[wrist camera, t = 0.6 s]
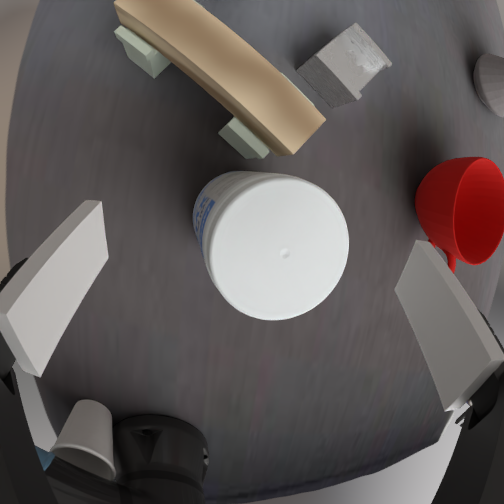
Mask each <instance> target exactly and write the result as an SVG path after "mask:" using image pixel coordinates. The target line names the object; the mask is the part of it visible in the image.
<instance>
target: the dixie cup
mask: <svg viewBox="0 0 504 504" xmlns="http://www.w3.org/2000/svg"><path fill="white" fill-rule="evenodd" d="M50 452H52V453H54V454H55V456H57V457H59V458H61V459H63V460H65V461H67V462H69V463H71V464H73V465H75V466H77V467H80V468H82V469H84V470H86V471H89V472H91V473H93V474H96V475H98V476H100V477H103V478H105V479H108V480H111V481H113V480H114V478H115V476H116V470H115V467H114V460H113V438H112V415H111V413H110V411H109V410H108V409H107V408H106V407H105V406H104V405H103V404H101V403H99V402H97V401H94V400H80V401H78V402H77V403H76V404H75V406H74V408H73V409H72V411H71V413H70V415H69V417H68V419H67V421H66V423H65V425H64V427H63V429H62V431H61V433H60V435H59V437H58V439H57V441H56V443H55V445H54V446H53V447H52V448H51V449H50Z"/></svg>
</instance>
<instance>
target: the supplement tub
mask: <svg viewBox="0 0 504 504" xmlns="http://www.w3.org/2000/svg"><path fill="white" fill-rule="evenodd" d="M193 226H194V231H195V234H196V237H197V240H198V243H199V246H200V249H201V252H202V255H203V258H204V261H205V264H206V267H207V270H208V273H209V275H210V277H211V279H212V281H213V283H214V284H215V286H216V287H217V289H218V290H219V291H220V293H221V294H222V296H223V297H224V298H225V299H226V300H227V301H228V302H229V303H230V304H231V305H232V306H233V307H235V308H236V309H237V310H239V311H241V312H242V313H244V314H246V315H249V316H252V317H255V318H258V319H264V320H282V319H288V318H292V317H295V316H298V315H301V314H303V313H305V312H307V311H309V310H311V309H312V308H314V307H315V306H317V305H318V304H319V303H320V302H322V301H323V300H324V299H325V298H326V297H327V296H328V295H329V294H330V292H331V291H332V290H333V289H334V287H335V286H336V284H337V283H338V281H339V279H340V277H341V275H342V273H343V271H344V268H345V265H346V261H347V256H348V250H349V236H348V230H347V225H346V221H345V219H344V216H343V214H342V212H341V210H340V208H339V207H338V205H337V204H336V202H335V201H334V200H333V198H332V197H331V196H330V195H329V194H327V193H326V192H325V191H324V190H323V189H321V188H320V187H318V186H317V185H315V184H313V183H310V182H308V181H305V180H303V179H301V178H298V177H295V176H291V175H286V174H278V173H267V172H253V171H232V172H227V173H225V174H222V175H220V176H218V177H216V178H214V179H213V180H211V181H210V182H209V183H208V184H207V185H206V186H205V187H204V188H203V189H202V191H201V192H200V194H199V196H198V197H197V200H196V202H195V206H194V210H193Z"/></svg>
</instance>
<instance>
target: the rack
mask: <svg viewBox="0 0 504 504" xmlns="http://www.w3.org/2000/svg"><path fill="white" fill-rule="evenodd" d="M193 1H194V2H196V1H195V0H193ZM196 3H197V4H199V3H198V2H196ZM199 5H200V4H199ZM200 6H201V7H203V6H202V5H200ZM203 8H204V7H203ZM114 33H115V35H116V37H117V39H119V40H120V41H121V42H122V44H123V46H124V49H125V51H126V53H127V56H128V58H129V59H130V60H132V61H133V62H134V63H135V64H137V65H138V66H139V67H140V68H142V69H143V70H144V71H145V72H147V73H148V74H149V75H150V76H152V77H153V78H154V79H155V78H156V77H157V76H158V75H159V74H160V73H161V72H162V71H163V70H164V69H165V68H166V67H167V66H168V65H169V64H170V63H171V61H170V60H168V59H167V58H166V57H165V56H163V55H162V54H161V53H160V52H158V51H157V50H156V49H154V48H153V47H152V46H151V45H149V44H148V43H147V42H145V41H144V40H143V39H141V38H140V37H139V36H137V35H136V34H135V33H133V32H132V31H131V30H129V29H128V28H127V29H126V28H124V27H123V26H122V25H121V26H120V27H118V28H117V29H116V30H115V31H114ZM281 74H282V73H281ZM282 75H283V76H284V77H285V78H286V79H287V80H288V81H289V82H290V83H291V84H292V85H293V86H294V87H295V88H296V89H297V90H298V91H299V92H300V93H301V94H302V95H303V96H304V97H305V98H306V99H307V100H308V101H309V102H310V103H311V104H312V105H313V103H312V102H311V101H310V100H309V99H308V98H307V97H306V96H305V95H304V94H303V93H302V92H301V91H300V90H299V89H298V88H297V87H296V86H295V85H294V84H293V83H292V82H291V81H290V80H289V79H288V78H287V77H286V76H285V75H284V74H282ZM313 106H314V105H313ZM218 134H219V135H220V136H221V137H222V138H224V139H225V140H226V141H227V142H228V143H229V144H230V145H231V146H232V147H233V148H234V149H236V150H237V151H238V152H239V153H240V154H241V155H242V156H243V157H244V158H245V159H250V158H256V157H257V158H258V159H263V158H264V157H265V156H266V155H267V154H268V153H269V152H270V151H269V150H268V149H269V148H268V147H267V146H266V145H265V144H264V143H263V142H262V141H261V140H259V139H258V138H257V137H256V136H255V135H254V134H253V133H252V132H251V131H250V130H249V129H248V128H247V127H246V126H245V125H244V124H242V123H241V122H240V121H239V120H238V119H237V118H236V117H235V116H234V117H233V118H232V119H231V120H230V121H229V122H228V123H227V124H226V125H225V126H224V127H223V128H222V129H221V130H220V131H219V132H218Z"/></svg>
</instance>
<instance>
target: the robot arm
mask: <svg viewBox="0 0 504 504" xmlns="http://www.w3.org/2000/svg"><path fill="white" fill-rule="evenodd" d="M108 258H109V256H108V250H107V243H106V235H105V227H104V219H103V209H102V201H94V200H85V201H84V202H83V203H82V204H81V205H80V206H79V207H78V208H77V209H76V210H75V211H74V212H73V213H72V214H71V215H70V216H69V217H68V218H67V219H66V220H65V221H64V222H63V223H62V224H61V225H60V226H59V227H58V228H57V229H56V230H55V231H54V232H53V233H52V234H51V235H50V236H49V237H48V238H47V239H46V240H45V241H44V242H43V243H42V244H41V246H40V247H39V248H38V249H37V250H36V251H35V252H34V253H33V254H32V255H31V257H30V258H25V259H24V260H22V261H21V262H19V263H18V264H16V265H15V266H14V267H13V268H12V269H11V270H10V272H9V273H8V274H7V277H5V278H4V279H3V280H2V281H1V284H0V504H205V499H204V494H203V483H204V479H205V475H206V471H207V467H208V463H209V451H208V446H207V442H206V439H205V438H204V436H203V435H202V434H201V432H199V431H198V430H197V429H196V428H195V427H193V426H191V425H190V424H188V423H186V422H184V421H181V420H178V419H175V418H171V417H166V416H159V415H142V416H135V417H131V418H128V419H125V420H123V421H121V422H119V423H118V424H116V425H115V426H114V427H113V428H112V438H113V460H114V467H115V470H116V476H115V480H116V482H113V481H111V480H108V479H105V478H103V477H100V476H98V475H96V474H93V473H91V472H89V471H86V470H84V469H82V468H80V467H77V466H75V465H73V464H71V463H69V462H67V461H65V460H63V459H61V458H59V457H57V456H55V454H54V453H52V452H47V451H45V450H43V449H41V448H39V447H37V446H35V445H34V442H33V439H32V437H31V433H30V430H29V427H28V423H27V420H26V416H25V413H24V409H23V406H22V401H21V397H20V393H19V389H18V385H17V380H16V375H15V372H14V370H13V368H12V366H13V364H14V362H15V360H16V361H17V362H18V364H19V366H20V367H21V369H22V370H23V371H24V372H27V373H29V374H32V375H35V376H38V377H41V375H42V373H43V371H44V369H45V367H46V365H47V363H48V361H49V359H50V357H51V355H52V353H53V351H54V350H55V348H56V346H57V344H58V342H59V340H60V338H61V336H62V335H63V333H64V331H65V329H66V327H67V326H68V324H69V322H70V320H71V318H72V317H73V315H74V313H75V311H76V310H77V308H78V306H79V305H80V303H81V301H82V300H83V298H84V296H85V295H86V293H87V291H88V290H89V288H90V286H91V285H92V283H93V281H94V280H95V278H96V277H97V275H98V273H99V272H100V270H101V269H102V267H103V266H104V264H105V263H106V261H107V260H108ZM395 292H396V294H397V296H398V298H399V300H400V303H401V305H402V307H403V309H404V311H405V313H406V316H407V318H408V320H409V322H410V324H411V327H412V329H413V331H414V334H415V336H416V338H417V340H418V343H419V345H420V348H421V350H422V352H423V355H424V357H425V360H426V362H427V365H428V367H429V370H430V372H431V375H432V378H433V380H434V383H435V385H436V388H437V391H438V394H439V396H440V399H441V402H442V405H443V408H444V411H449V410H454V409H459V408H461V407H462V406H463V405H464V404H465V403H466V402H467V401H468V400H469V399H470V400H471V402H472V405H471V406H470V407H469V408H468V409H467V410H466V411H465V412H464V413H463V414H462V415H461V416H460V417H459V418H458V419H457V420H456V422H455V423H456V424H458V423H459V422H460V421H461V420H462V419H464V422H463V423H462V424H461V425H460V426H461V427H462V429H461V432H460V435H459V438H458V441H457V444H456V446H455V449H454V452H453V455H452V457H451V460H450V462H449V465H448V467H447V470H446V472H445V475H444V477H443V479H442V482H441V484H440V486H439V489H438V491H437V493H436V495H435V497H434V499H433V501H432V503H431V504H504V348H503V347H502V345H501V343H500V341H499V340H498V338H497V336H496V335H494V331H493V329H492V328H491V327H490V324H489V323H488V321H487V319H486V318H485V316H484V315H483V314H482V313H481V312H480V311H479V310H478V309H477V308H476V306H475V305H474V303H473V302H472V300H471V299H470V297H469V296H468V294H467V293H466V291H465V290H464V288H463V287H462V285H461V284H460V282H459V281H458V280H457V278H456V277H455V275H454V274H453V273H452V271H451V270H450V268H449V267H448V266H447V264H446V263H445V261H444V260H443V259H442V257H441V256H440V255H439V253H438V252H437V251H436V249H435V248H434V247H433V246H432V244H431V243H430V242H426V241H420V240H416V242H415V244H414V247H413V249H412V251H411V254H410V256H409V259H408V261H407V263H406V265H405V268H404V270H403V272H402V274H401V277H400V279H399V281H398V283H397V285H396V288H395Z"/></svg>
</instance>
